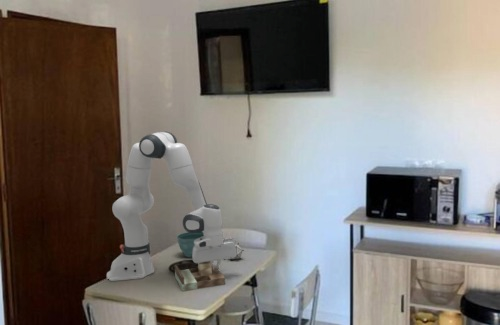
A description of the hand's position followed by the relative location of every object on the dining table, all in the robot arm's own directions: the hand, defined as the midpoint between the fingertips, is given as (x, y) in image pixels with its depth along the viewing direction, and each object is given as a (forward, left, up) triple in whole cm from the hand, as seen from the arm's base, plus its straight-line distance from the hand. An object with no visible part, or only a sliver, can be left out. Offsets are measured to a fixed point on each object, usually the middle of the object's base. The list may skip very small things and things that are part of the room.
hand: (215, 269), depth 230 cm
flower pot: (-2, +40, -4) cm, 41 cm away
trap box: (-8, 0, -4) cm, 9 cm away
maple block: (-5, 0, -1) cm, 5 cm away
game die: (+16, +22, -4) cm, 28 cm away
